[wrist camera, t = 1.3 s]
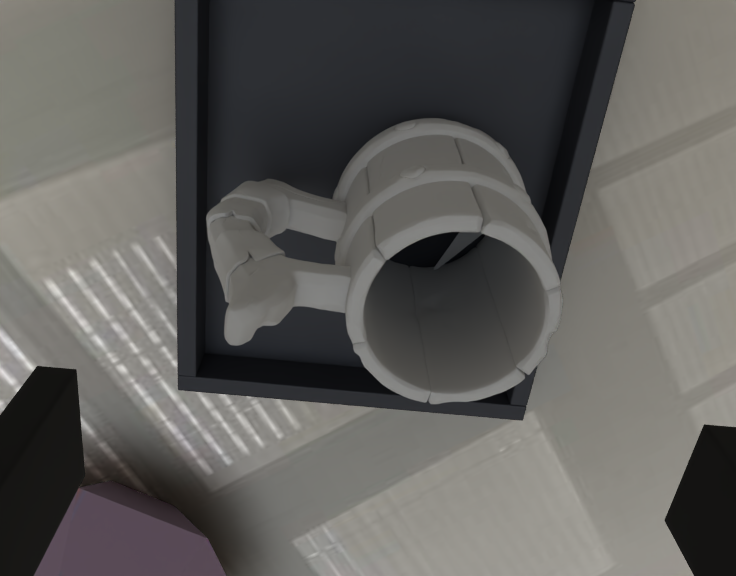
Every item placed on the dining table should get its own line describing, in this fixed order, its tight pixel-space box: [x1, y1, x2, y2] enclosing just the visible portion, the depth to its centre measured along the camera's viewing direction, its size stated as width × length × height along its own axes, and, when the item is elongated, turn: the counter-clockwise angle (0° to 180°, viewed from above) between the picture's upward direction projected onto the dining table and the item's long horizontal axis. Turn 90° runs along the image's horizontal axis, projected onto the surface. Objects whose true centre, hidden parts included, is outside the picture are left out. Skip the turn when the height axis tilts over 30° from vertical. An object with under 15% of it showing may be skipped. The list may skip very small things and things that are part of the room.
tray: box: [175, 0, 636, 420], centre depth 28 cm, size 19×16×3 cm
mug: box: [206, 118, 563, 404], centre depth 23 cm, size 8×12×12 cm, turn 81°
